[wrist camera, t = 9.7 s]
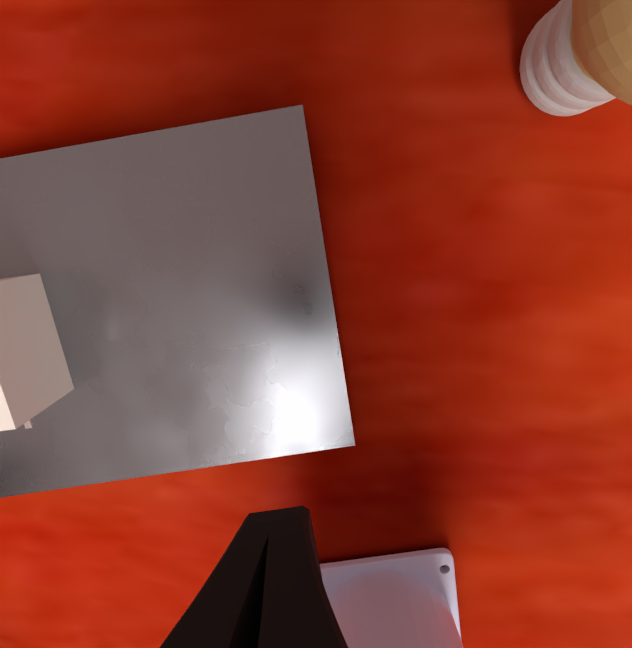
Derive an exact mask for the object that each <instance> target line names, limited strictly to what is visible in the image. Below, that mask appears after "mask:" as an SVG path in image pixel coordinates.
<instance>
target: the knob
mask: <svg viewBox="0 0 632 648" xmlns="http://www.w3.org/2000/svg"><path fill="white" fill-rule="evenodd" d="M73 389H74V386H73V383H72V379H71V376H70V373H69V369H68V366H67V363H66V359H65V356H64V353H63V349H62V346H61V343H60V339H59V336H58V333H57V329H56V326H55V323H54V319H53V316H52V313H51V309H50V306H49V303H48V299H47V296H46V293H45V289H44V286H43V282H42V279H41V276H40V274H33V275H25V276H18V277H11V278H3V279H0V431H5V430H13V429H17V428H18V427H20V426H21V425H23V424H24V423H26V422H27V421H28V420H30V419H31V418H33V417H34V416H36V415H37V414H39V413H40V412H42V411H43V410H44V409H46V408H47V407H49V406H50V405H52V404H53V403H55V402H56V401H57V400H59V399H60V398H62V397H63V396H65V395H66V394H68V393H69V392H71V391H72V390H73Z"/></svg>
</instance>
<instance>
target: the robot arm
mask: <svg viewBox="0 0 632 648" xmlns="http://www.w3.org/2000/svg"><path fill="white" fill-rule="evenodd" d="M443 565H446V566H445V567H441V566H443ZM160 648H464V647H463V644H462V641H461V632H460V622H459V611H458V601H457V591H456V580H455V570H454V560H453V556H452V554H451V552H450V551H449V550H448V549H446V548H435V549H428V550H420V551H413V552H405V553H398V554H391V555H383V556H376V557H369V558H361V559H354V560H346V561H339V562H332V563H324V564H320V563H319V558H318V553H317V548H316V543H315V538H314V532H313V527H312V522H311V517H310V512H309V509H307V508H306V507H304V506H299V507H292V508H285V509H278V510H271V511H264V512H257V513H250V514H249V515H248V516H247V517H246V519H245V520H244V522H243V523H242V525H241V527H240V528H239V530H238V532H237V533H236V535H235V537H234V538H233V540H232V542H231V543H230V545H229V546H228V548H227V550H226V551H225V553H224V554H223V556H222V558H221V559H220V561H219V562H218V564H217V566H216V567H215V569H214V570H213V572H212V573H211V575H210V576H209V578H208V579H207V581H206V582H205V584H204V585H203V587H202V588H201V590H200V591H199V593H198V594H197V596H196V597H195V599H194V600H193V602H192V603H191V605H190V606H189V608H188V609H187V610H186V612H185V613H184V615H183V616H182V617H181V619H180V620H179V621H178V623H177V624H176V626H175V627H174V628H173V630H172V631H171V632H170V634H169V635H168V637H167V638H166V639H165V641H164V642H163V643H162V645H161V646H160Z"/></svg>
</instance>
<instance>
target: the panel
mask: <svg viewBox="0 0 632 648" xmlns="http://www.w3.org/2000/svg"><path fill="white" fill-rule="evenodd" d="M33 274H40V276H41V279H42V282H43V286H44V289H45V293H46V296H47V299H48V303H49V306H50V309H51V313H52V316H53V319H54V323H55V326H56V329H57V333H58V336H59V339H60V343H61V346H62V349H63V353H64V356H65V359H66V363H67V366H68V369H69V373H70V376H71V379H72V383H73V386H74V389H73V390H72V391H71V392H69V393H68V394H66V395H65V396H63V397H62V398H60V399H59V400H57V401H56V402H55V403H53V404H52V405H50V406H49V407H47V408H46V409H44V410H43V411H42V412H40V413H39V414H37V415H36V416H34V417H33V418H31V419H30V420H28V421H27V422H26V423H24V424H23V425H21V426H20V427H18V428H17V429H13V430H5V431H0V497H7V496H13V495H20V494H27V493H34V492H41V491H48V490H54V489H61V488H68V487H75V486H82V485H89V484H95V483H102V482H109V481H116V480H123V479H130V478H137V477H143V476H150V475H157V474H164V473H171V472H178V471H184V470H191V469H198V468H205V467H212V466H219V465H225V464H232V463H239V462H246V461H253V460H260V459H266V458H273V457H280V456H287V455H294V454H301V453H308V452H314V451H321V450H328V449H335V448H342V447H349V446H355V440H354V433H353V427H352V420H351V414H350V408H349V401H348V395H347V388H346V382H345V375H344V369H343V362H342V356H341V349H340V343H339V337H338V330H337V324H336V317H335V311H334V304H333V298H332V291H331V285H330V278H329V272H328V266H327V259H326V253H325V246H324V240H323V233H322V227H321V220H320V214H319V207H318V201H317V195H316V188H315V182H314V175H313V169H312V162H311V156H310V149H309V143H308V137H307V130H306V124H305V117H304V111H303V104H302V105H297V106H291V107H286V108H280V109H275V110H269V111H263V112H258V113H252V114H247V115H241V116H235V117H230V118H224V119H219V120H213V121H208V122H202V123H196V124H191V125H185V126H180V127H174V128H168V129H163V130H157V131H152V132H146V133H140V134H135V135H129V136H124V137H118V138H113V139H107V140H101V141H96V142H90V143H85V144H79V145H73V146H68V147H62V148H57V149H51V150H46V151H40V152H34V153H29V154H23V155H18V156H12V157H6V158H1V159H0V279H3V278H11V277H18V276H25V275H33Z"/></svg>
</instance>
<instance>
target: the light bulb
mask: <svg viewBox="0 0 632 648" xmlns="http://www.w3.org/2000/svg"><path fill="white" fill-rule="evenodd" d="M519 69H520V77H521V83H522V86H523V89H524V92H525V93H526V95H527V97H528V98H529V100H530V101H531V102H532V103H533V104H534V105H535V106H536V107H537V108H539V109H540V110H542V111H543V112H545V113H548V114H551V115H555V116H572V115H576V114H580V113H582V112H585V111H587V110H589V109H591V108H593V107H596V106H599V105H602V104H604V103H606V102H609V101H611V100H613V99H615V98H617V99H619V100H621V101H623V102H625V103H627V104H630V105H632V0H561V1H559V2H558V4H557V5H556V6H555V7H554V8H552V9H551V10H550V11H549V12H548V13H546V14H545V15H544V16H543V17H542V18H541V19H540V20H539V21H538V22H537V23H536V25H535V26H534V28H533V29H532V31H531V32H530V34H529V35H528V37H527V39H526V42H525V44H524V46H523V50H522V54H521V60H520V68H519Z"/></svg>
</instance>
